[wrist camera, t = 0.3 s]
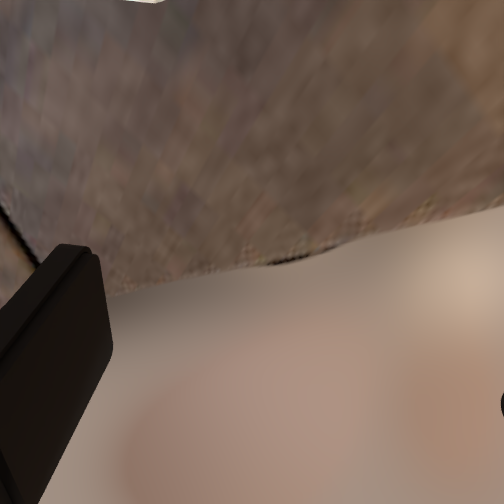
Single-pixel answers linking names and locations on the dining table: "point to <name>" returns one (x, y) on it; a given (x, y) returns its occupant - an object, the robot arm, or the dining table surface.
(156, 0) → the white rectangular block
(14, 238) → the dining table surface
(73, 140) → the dining table surface
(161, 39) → the dining table surface
